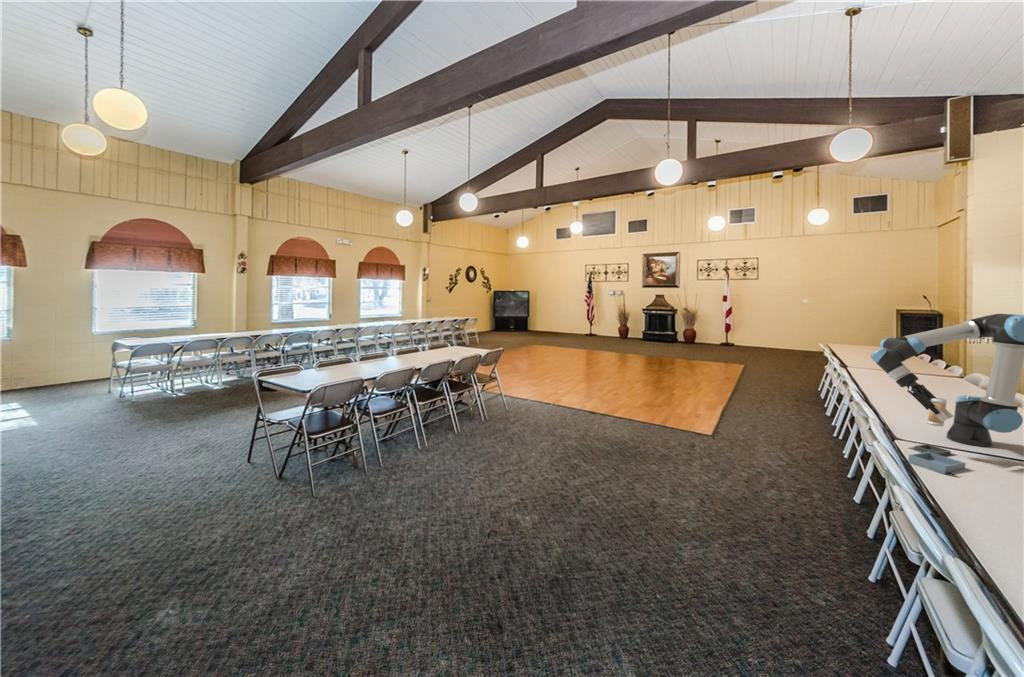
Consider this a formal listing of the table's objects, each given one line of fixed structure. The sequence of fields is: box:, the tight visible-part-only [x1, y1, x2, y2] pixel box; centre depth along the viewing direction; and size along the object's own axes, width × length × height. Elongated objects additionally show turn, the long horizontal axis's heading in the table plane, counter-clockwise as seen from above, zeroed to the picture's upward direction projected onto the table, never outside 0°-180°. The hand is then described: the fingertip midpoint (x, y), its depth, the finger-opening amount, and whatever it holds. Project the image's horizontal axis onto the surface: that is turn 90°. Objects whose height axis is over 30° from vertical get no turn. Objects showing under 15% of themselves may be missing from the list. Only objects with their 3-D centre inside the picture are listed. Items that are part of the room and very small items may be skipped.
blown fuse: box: [927, 397, 947, 427], centre depth 184 cm, size 5×5×12 cm
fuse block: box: [907, 443, 957, 458], centre depth 187 cm, size 12×12×2 cm
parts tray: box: [907, 452, 967, 476], centre depth 173 cm, size 12×12×4 cm
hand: (948, 418), depth 181 cm, fingers closed on blown fuse, 5 cm apart
